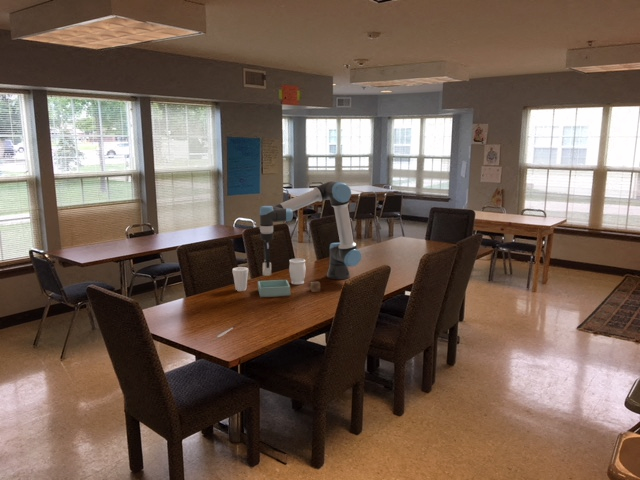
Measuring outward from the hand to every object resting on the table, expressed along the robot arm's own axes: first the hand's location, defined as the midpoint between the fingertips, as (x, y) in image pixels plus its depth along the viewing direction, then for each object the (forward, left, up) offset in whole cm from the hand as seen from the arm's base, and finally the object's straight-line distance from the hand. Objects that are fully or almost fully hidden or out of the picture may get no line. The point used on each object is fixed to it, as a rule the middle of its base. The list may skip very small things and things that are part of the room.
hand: (267, 271), depth 299 cm
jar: (-21, -19, -13) cm, 31 cm away
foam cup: (+15, -11, -13) cm, 23 cm away
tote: (-4, 0, -13) cm, 14 cm away
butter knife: (+22, +54, -14) cm, 60 cm away
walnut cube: (-29, 0, -13) cm, 32 cm away
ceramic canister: (0, 0, -2) cm, 2 cm away
